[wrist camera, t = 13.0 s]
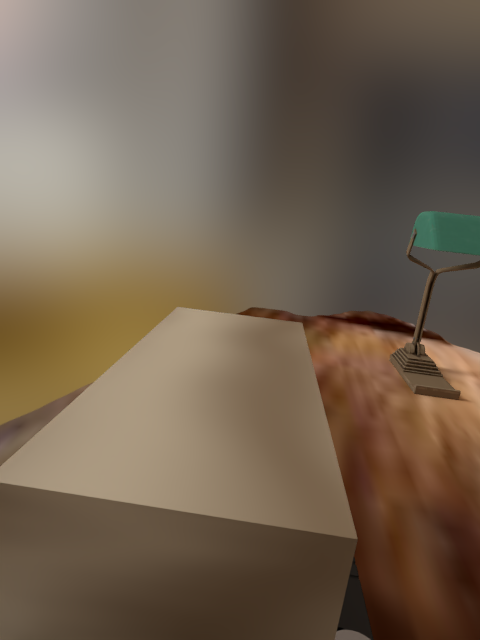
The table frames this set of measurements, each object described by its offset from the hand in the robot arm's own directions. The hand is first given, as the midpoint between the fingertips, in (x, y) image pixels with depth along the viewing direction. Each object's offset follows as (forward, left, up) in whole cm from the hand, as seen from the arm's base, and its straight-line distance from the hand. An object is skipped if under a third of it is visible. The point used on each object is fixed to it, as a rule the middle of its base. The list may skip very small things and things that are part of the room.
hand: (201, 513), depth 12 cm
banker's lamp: (+77, +30, -22) cm, 86 cm away
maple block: (+1, +1, -7) cm, 7 cm away
